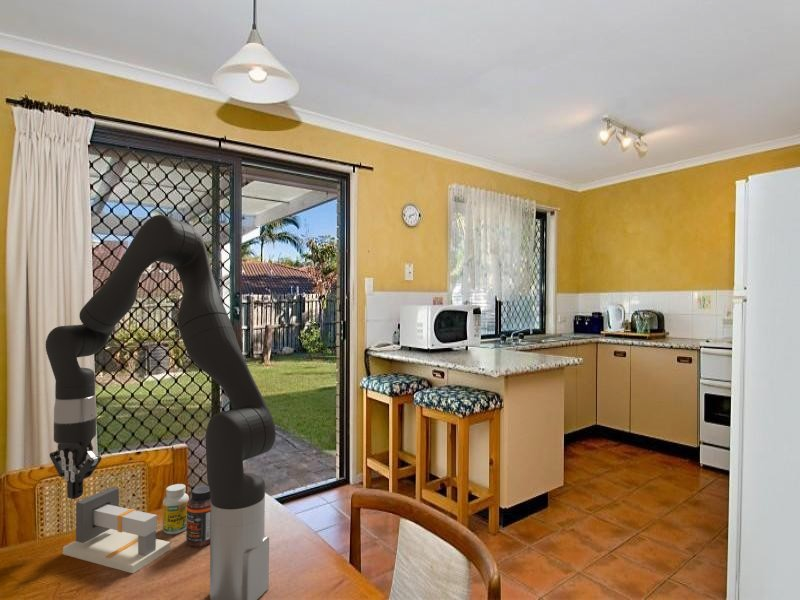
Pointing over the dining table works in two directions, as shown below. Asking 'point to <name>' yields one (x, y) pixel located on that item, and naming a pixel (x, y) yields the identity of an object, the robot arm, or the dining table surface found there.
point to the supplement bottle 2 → (199, 517)
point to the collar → (85, 513)
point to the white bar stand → (121, 539)
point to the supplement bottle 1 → (175, 509)
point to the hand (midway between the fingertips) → (74, 497)
